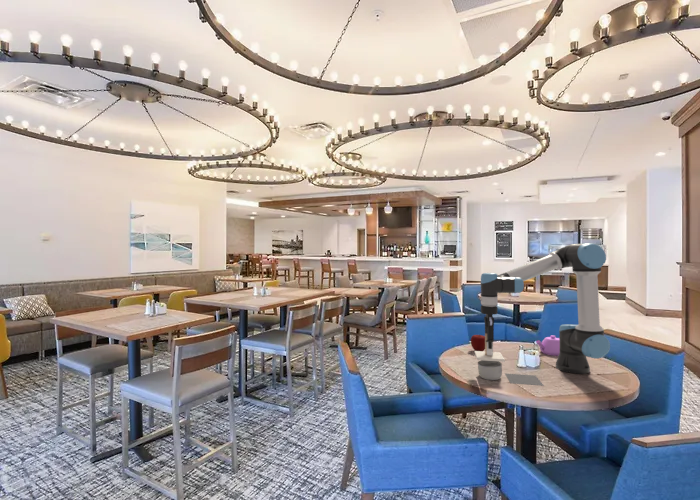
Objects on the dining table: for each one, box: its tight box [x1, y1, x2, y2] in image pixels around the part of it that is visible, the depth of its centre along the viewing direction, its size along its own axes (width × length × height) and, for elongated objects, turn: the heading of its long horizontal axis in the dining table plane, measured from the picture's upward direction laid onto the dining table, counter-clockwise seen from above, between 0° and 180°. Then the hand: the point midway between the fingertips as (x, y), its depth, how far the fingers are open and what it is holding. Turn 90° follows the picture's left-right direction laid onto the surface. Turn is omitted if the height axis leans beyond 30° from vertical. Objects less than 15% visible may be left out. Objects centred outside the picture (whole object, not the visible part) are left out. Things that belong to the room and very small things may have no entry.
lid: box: [474, 332, 506, 363], centre depth 178 cm, size 12×12×11 cm
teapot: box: [535, 335, 560, 357], centre depth 222 cm, size 14×20×11 cm
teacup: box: [477, 360, 503, 381], centre depth 178 cm, size 14×11×8 cm
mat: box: [504, 373, 545, 387], centre depth 173 cm, size 14×14×1 cm
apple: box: [470, 334, 485, 352], centre depth 226 cm, size 10×10×10 cm
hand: (489, 354), depth 178 cm, fingers closed on lid, 4 cm apart
